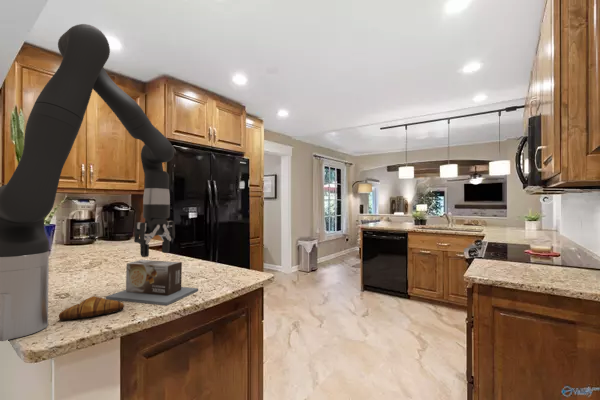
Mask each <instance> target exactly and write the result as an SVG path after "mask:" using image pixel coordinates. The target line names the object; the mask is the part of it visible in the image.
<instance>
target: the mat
mask: <svg viewBox="0 0 600 400" xmlns="http://www.w3.org/2000/svg"><path fill="white" fill-rule="evenodd" d="M198 291H199V288H196V287H185V286H181V290H179V291H177V292H175V293H173V294H170V295H168V296H167V295H156V294H146V293H135V292H126V289H124V290H121V291H119V292H114V293H112V294H109V295H106V296H105V299H108V300H114V301H119V302H131V303H141V304H152V305H158V306H159V305H161V306H169V305H171V304H173V303H176V302H177V301H180V300H182V299H183V298H185V297H188V296H190V295H192V294H195V293H197V292H198Z"/></svg>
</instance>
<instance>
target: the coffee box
mask: <svg viewBox="0 0 600 400" xmlns="http://www.w3.org/2000/svg"><path fill="white" fill-rule="evenodd" d="M125 266H126V271H125V272H126V273H125V274H126V275H125V277H126V278H125V290H126V292H135V293H146V294H156V295H167V296H168V295H170V294H173V293H175V292H177V291H179V290H181V287H182V269H183V267H182V266H183V262H182V261H168V260H167V261H166V260H165V261H164V260H153V259H152V260H150V259H140V260H135V261H131V262H127V263H126V265H125Z"/></svg>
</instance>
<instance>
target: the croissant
mask: <svg viewBox="0 0 600 400" xmlns="http://www.w3.org/2000/svg"><path fill="white" fill-rule="evenodd" d="M124 308H125V305H124V302H122V301H120V300H110V299H106V298H103V297H100V296H95V295H92V296H90V297H88V298H87V299H84V300H82V301H81V302H80V303H77V304H74V305H72V306H70V307H68V308H65V309H64V310H62V311H61V312H59V315H58V318H59V320H60V321H68V320H69V321H70V320H71V321H72V320H77V319H87V318H94V317H98V316H102V315H108V314H113V313H116V312H120V311H123V310H124Z"/></svg>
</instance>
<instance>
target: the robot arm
mask: <svg viewBox="0 0 600 400" xmlns="http://www.w3.org/2000/svg"><path fill="white" fill-rule="evenodd" d="M109 43H110V42H109V41H108V38H107V37H106V35H105V34H104V32H102V30H101V29H99V28H97V27H96V26H94V25H91V24H86V23H81V24H80V23H79V24H76V25H74V26H71V27H70V28H69V29H67V30H65V32H64V33H63V34H62V35H61V36H60V37H59V39H58V42H57V47H58V51H59V53H60V55H61V57H62V60H61V63H60V65H59V67H58V68H57V70H56V71H55V72H54V74H53V75H52V76H51V78H50V79H49V80H48V82H46V83H45V85H44V87H43V88H42V90H41V91H40V92H39V95H37V98H36V100H35V102H34V104H33V106H32V108H31V111H30V113H29V116H28V119H27V120H26V121H27V122H26V125H25V128H24V129H25V131H24V137H23V138H24V139H23V149H22V154H21V157H20V159H19V162H18V164H17V166H16V167H15V169H14V172H13V174H12V175H11V177H10V179H9V181H7V183H5V184H3V185H1V186H0V342H6V341H9V340H12V339H17V338H21V337H26V336H29V335H33V334H35V333H37V332H40V331H43V330H44V329H47V327H48V326H49V277H50V276H49V268H50V267H49V265H50V264H49V263H50V261H49V260H50V259H49V257H50V253H49V252H50V242H49V238H48V237H47V235H46V232H45V231H46V230H45V217H47V216H48V215H50V212H51V211H52V209H53V207H54V205H55V200H56V197H57V196H56V195H57V191H58V187H59V183H60V178H61V175H62V171H63V168H64V167H65V164H66V161H67V160H68V157H69V155H70V154H71V151H72V148H73V147H74V146H73V145H74V143H75V141H76V139H77V136H78V134H79V132H80V128H81V126H82V124H83V121H84V117H85V114H86V111H87V108H88V105H89V102H90V99H91V97H92V92H93V91H94V92H95V93H96V94H97V95H98V96H99V97H100V98H101V99H102V100H103V102H104V103H105V104H106V105H107V106H108V108H109V109H111V111H112V112H113V114H114V115H115V117H117V119H118V120H119V121H120V122H121V124H122V126H123V127H124V128H125V129H126V131H127V132H128V133H129V135H130V136H131V137H132V138H133V139H135V140H140V141H141V142H143V144H144V145H143V146H142V148H141V149H140V150H141V151H140V160H141V161H140V162H141V164H142V170H143V173H144V190H143V191H144V192H143V201H142V202H143V203H142V218H143V219H144V222H140V221H139V222H138V221H137V222H135V223H134V226H135V227H134V239H133V240H134V243H136V244H139V246H140V254H139V255H140V256H141V257H142V258H143V257H144V258H147V257H149V256H150V242H151V240H152V239H153V238H154V237H156V236H159V237H161V240H162V243H161V252H162V253H163V254H169V253H170V249H171V248H170V247H171V245H170V244H171V243H170V242H171V241H172V240H173V239H176V227H175V226H176V225H175V224H176V223H175V221H174V220H168V219H169V218H170V214H171V212H170V211H171V210H170V209H171V208H170V207H171V203H170V202H171V201H170V200H171V198H170V197H171V195H170V174H169V173H168V172H167V171H165V170H164V167H163V164H164V163H168V162H170V161H171V160H172V159H174V156H175V150H174V147H173V145H172V143H171V141H170V140H169V139H168V137H166V136H165V135H164V134H163V133H162V132H161V131H160V130H159V129H158V128H157V127H155V125H153V124H152V122H151V120H150V119H149V117H148V116H147V114H146V113H145V111H144V110H143V108H142V107H141V106H140V105H139V104H138V103H137V101H136V100H135V99H133V98H132V97H131V96H130V95H129V94H127V92H125V90H123V89H122V88H121V87H119V86H118V85H117V84H116V83H115V82H114V81H113V79H112V78H111V77H110V75H109V74H108V73H107V71H106V70H105V68H104V66H105V65H106V63H107V61H108V60H109V58H110V54H111V53H110V52H111V48H110V44H109Z"/></svg>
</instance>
